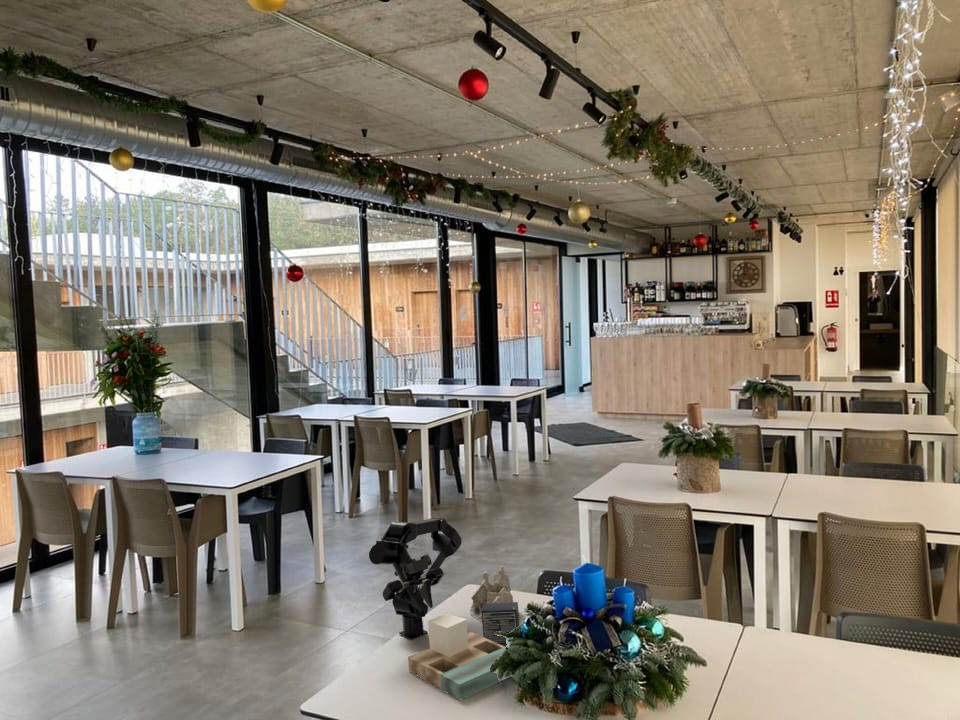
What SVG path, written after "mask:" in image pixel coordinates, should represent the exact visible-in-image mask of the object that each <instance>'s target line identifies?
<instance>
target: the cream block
mask: <svg viewBox="0 0 960 720" xmlns="http://www.w3.org/2000/svg"><path fill="white" fill-rule="evenodd" d="M427 625H428V627H427V628H428V640H429V642H428V643H429V648H430V650H433V651H435V652H438V653H440V654H443V655H445V656H448V657H451V656H453V655H455V654H457V653H459V652H461V651H463V650H466V649H468V637H467V634H468V626H467V625H468V623H467V619H466V618H462V617H461V616H460V617H459V616H456V615H454V614H451V613H448V612H446V613H444V614H441V615H439V616H436V617H434V618H431V619H429V620H427Z"/></svg>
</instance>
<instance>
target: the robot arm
mask: <svg viewBox="0 0 960 720" xmlns="http://www.w3.org/2000/svg"><path fill="white" fill-rule="evenodd" d="M426 534H430V538H431V539H432V542H431V543H432V550H431V551H430V553H429V554H424V555H422V556H420V559H417V560H416V559H415V558H412V556H411V555H410V553H409V551H408V548H409V545H408V543H411V542H412V541H414V540H416V539H417V537H418V536H422V535H426ZM462 542H463V541H462V537H461V535H460V533H459V532H458V531H457V530H456V528H454V527H453V526H452V525H450V524H449V523H448V521H447V520H446V519H444V518H443V517H431V518H428V519H427V518H426V519H422V520H418V521H417V520H416V521H412V522H405V521H397V520H395V521H392V522H390V525H388V528H387V530H386V531H385V533H384V534H383V536H382V538H381V539H377V540H376V541H375V544H373V546H372V547H371V548H370V550H369V553H368V558H369V561H370V562H371V563H372V564H373V565H378V566H379V565H382V566H384V565H386V566H390V565H392V566H393V569H394V570H395V572H394V577H397V576H398V578H399V579H396V580H393V581H390V582H387V584H386V586H385V588H384V589H383V590H382V597H383V599H384V601H386V602H388V601H391V600H392V607H393V608H394V612H395V614H396V615H397V616H401V618H402V619H401V620H402V629H403V630H402V631H399V632H398V635H400V634H401V635H400V636H402V637H404V638H406V639H408V640H414V639H416V638H419V637H422V636H424V635H427V634H429V631H427V630H425V629H424V620H423V618H424V617H426V615H427V614H428V611H429V608H430V609H432V608H433V607H434V603H433V597H432V587H434V586H435V585H436V586H437V585H438V584H439V583H440V581H441V580H442V578H443V577H444V575H445V572H444V571H443V569H442V568H441V566H442V565H443V563H444V561H445V560H446V559H447V558H450V557H452V556H454V554H456V552H457V551H458V550H459V549H460V548H461V545H462Z"/></svg>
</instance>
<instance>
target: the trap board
mask: <svg viewBox="0 0 960 720" xmlns="http://www.w3.org/2000/svg"><path fill="white" fill-rule="evenodd" d="M467 637H468V649H466V650H463V651H461V652H459V653H457V654H455V655H453V656H451V657H448V656H445V655H443V654H440V653H438V652H435V651H433V650H430V647H429V648H428V649H424V650H422V651H419V652H417V653H414V654H412V655H410V656H407V662H408V665H407V666H408V672H409V671H410V672H409V673H411V672H412V673H411V674H413V675H414V676H416V675H418V676H419V677H418V676H417V677H418V678H420V677H421V678H420V679H422V678H423V679H425V680H426V682H427V681H428V682H427V683H429V682H430V683H429V684H431V683H432V684H434V685H435V686H434V685H433V686H434V687H436V686H437V687H436V688H438V687H439V688H438V689H439V690H441V689H442V691H443V690H444V691H443V692H445V691H446V692H445V693H447V692H448V693H447V694H449V695H450V694H451V695H450V696H452V695H453V696H452V697H454V696H455V697H454V698H456V697H457V698H456V699H458V700H459V699H460V701H462V700H465V699H466V697H467V698H468V696H469V697H470V696H471V697H472V695H475V694H477V693H479V692H481V691H484V690H486V689H488V688H490V687H492V686H495V685H497V684H499V683H500V682H499V680H498V678H497V674H496V673H492V672H491V671H490V667H491V665H492V664H493V662H494V661H495V660H496V659H497V658H498V657H499V656H500V655H501V654H502V652H503V651H504V650H505V648H506V647H507V646H506V645H500V644H498V643H496V642H493V641H491V640H489V639H486V638H484V637H483V635H482V636H481V635H479V634H477V633H474V632H472V631H470V632H467ZM423 679H422V680H423ZM425 680H424V681H425ZM498 682H499V683H498ZM432 684H431V685H432ZM461 699H462V700H461Z"/></svg>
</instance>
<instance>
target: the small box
mask: <svg viewBox="0 0 960 720" xmlns="http://www.w3.org/2000/svg"><path fill="white" fill-rule="evenodd" d="M481 613H482V623H481V625H482V637H484V638H486V639H489V640H491V641H493V642H496V643H498V644H500V645H502V646H507V645H506V638H505V637H503V636H497V635H495V634H494V632H496V631H502V632H506V633H509V632H511V631H512V630H513V629H514V628H516V627H518V626H519V625H520V615H519V603H518V601H513V602H507V603H483V605H482V609H481Z"/></svg>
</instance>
